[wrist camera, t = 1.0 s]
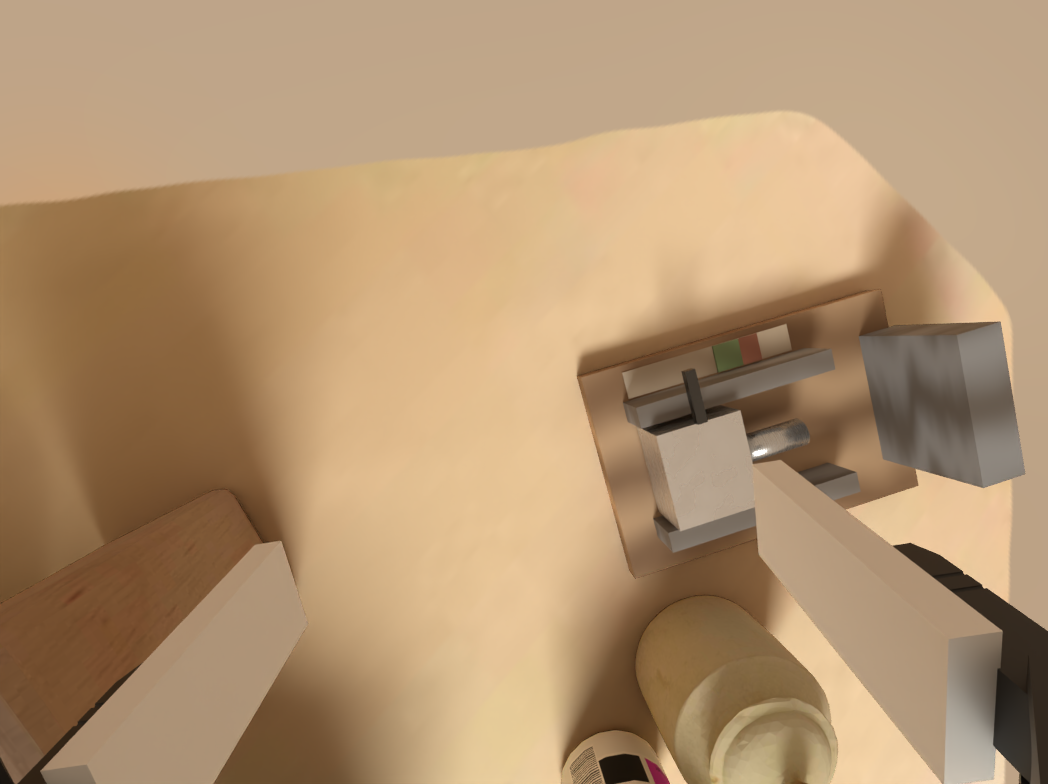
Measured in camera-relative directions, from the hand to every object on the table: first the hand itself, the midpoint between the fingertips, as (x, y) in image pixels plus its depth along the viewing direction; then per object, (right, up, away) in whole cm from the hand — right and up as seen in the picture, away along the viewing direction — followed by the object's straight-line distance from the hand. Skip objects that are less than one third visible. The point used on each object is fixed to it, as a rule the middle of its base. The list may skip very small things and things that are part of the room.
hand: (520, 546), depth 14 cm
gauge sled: (+14, +2, +24) cm, 28 cm away
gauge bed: (+18, +1, +27) cm, 32 cm away
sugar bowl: (+15, -19, +29) cm, 38 cm away
